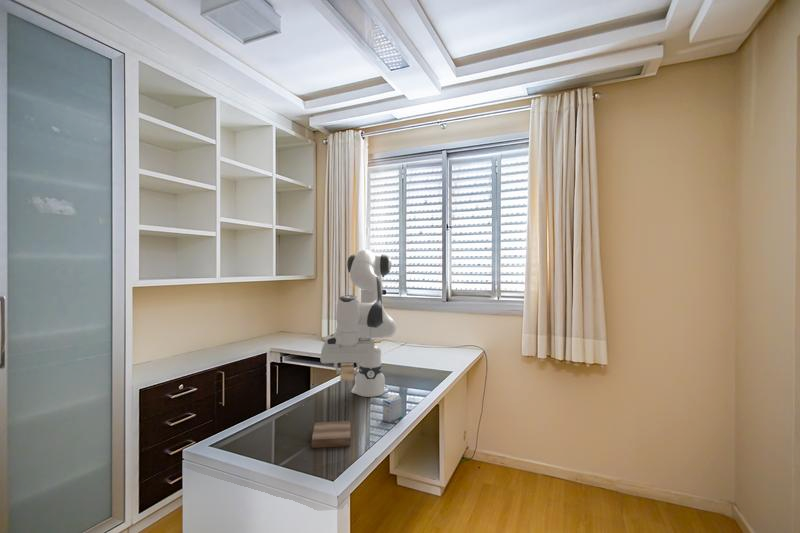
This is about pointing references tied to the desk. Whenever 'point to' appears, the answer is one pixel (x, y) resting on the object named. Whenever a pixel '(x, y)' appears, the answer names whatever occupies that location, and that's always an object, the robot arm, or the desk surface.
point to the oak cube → (347, 371)
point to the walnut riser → (331, 434)
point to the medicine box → (392, 408)
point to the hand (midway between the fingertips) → (347, 373)
